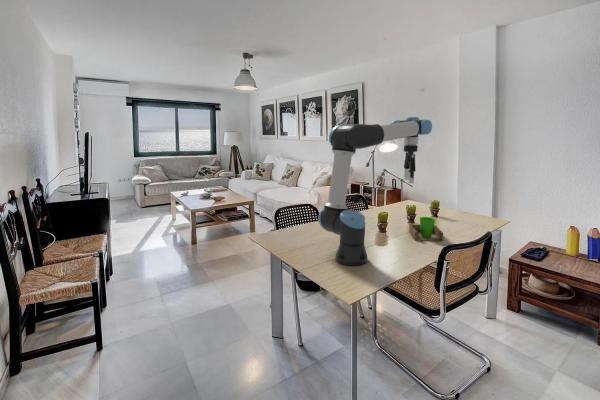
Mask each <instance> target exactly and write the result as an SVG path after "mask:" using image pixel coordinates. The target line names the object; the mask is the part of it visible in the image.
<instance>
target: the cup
mask: <svg viewBox="0 0 600 400" xmlns="http://www.w3.org/2000/svg"><path fill="white" fill-rule="evenodd" d="M418 219H419V225H420V227H421V236H422V238H427V239H428V238H431V235H432V231H433V227H434V225H436V221H437V219H436V218H434V217H430V216H420V217H419V218H418Z"/></svg>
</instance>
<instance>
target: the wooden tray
mask: <svg viewBox="0 0 600 400" xmlns="http://www.w3.org/2000/svg"><path fill="white" fill-rule="evenodd" d="M408 225H409V226H408V227H409V228H408V233H409V234H410V237H412V239H413V240H414V241H417V242H442V241H443V242H444V240H443V239H444V232H443V231H442V230H441V229H440V228H439V227H438V226H437V225H436V224H434V227H433V231H432V235H431V238H428V239H427V238H422V236H421V227H420V224H417V223H416V224H415V223H414V224H413V223H411V224H408Z"/></svg>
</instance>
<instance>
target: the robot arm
mask: <svg viewBox="0 0 600 400" xmlns="http://www.w3.org/2000/svg"><path fill="white" fill-rule="evenodd" d="M404 119H405V120H393V121H391V122H390V124H389V123H388V124H383V125H380V124H378V123H375V124H374V123H373V124H364V123H343V124H338V125H336V126H334V127H332V129H331V131H330V133H329V134H328V135H329V136H328V141H329V143H330V146H331V147H332V148H331V151H332V153H333V161H332V170H331V177H330V184H329V192H328V197H327V198H328V199H327V202H326V203H324V205H323V208H322V209H321V210H320V211H319V212H318V213H319V214H318V217H317V219H318V223H319V226H320V227H321V228H322V229H323V230H325V231H327V232H328V233H329V232H330V233H333V234H334V235H335V234H336V235H338V236H339V245H338V247H337V251H336V254H335V261H336V262H337V263H339V264H341V265H344V266H350V267H351V266H352V267H353V266H354V267H356V266H357V267H359V266H363V265H365V264H367V263H368V258H369V257H368V254H367V253H368V252H367V249H366V247H365V237H366V218H365V217H366V216H365V215H364V213H362V212H360V211H357V210H352V209H348V207H347V205H346V198H347V192H348V185H349V178H350V172H351V171H350V169H351V164H352V157H353V156H354V155H356V150H361V149H366V148H368V147H369V148H370V147H373V146H377V145H381V144H382V143H383V142H387V141H388V142H389V141H392V140H393V141H394V140H397V139H402V138H403V152H405V158H404V165H403V169H404V174H403V180H404V181H408V184H414V183H415V172H416V154H415V153H417V152H418V144H419V141H420V138H419V135H420V136H424V135H429V134H430V133H431V132H432V130H433V123H432V121H431V119H420V118H419V117H418V116H408V117H406V118H404Z"/></svg>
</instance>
